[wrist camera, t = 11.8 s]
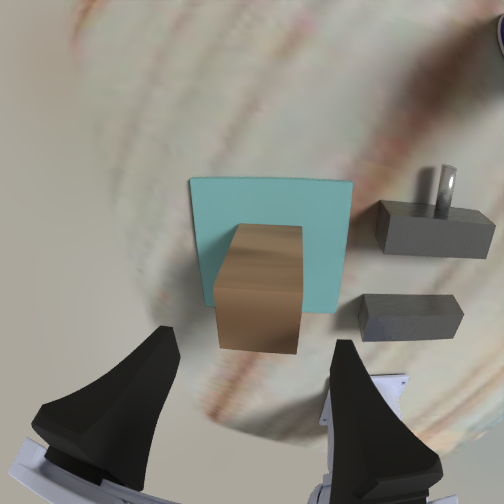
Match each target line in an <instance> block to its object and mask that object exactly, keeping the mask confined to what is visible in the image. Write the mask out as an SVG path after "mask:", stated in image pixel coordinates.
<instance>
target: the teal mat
mask: <svg viewBox="0 0 504 504" xmlns="http://www.w3.org/2000/svg"><path fill="white" fill-rule="evenodd" d="M190 185H191V195H192V205H193V214H194V223H195V232H196V241H197V249H198V257H199V264H200V272H201V279H202V287H203V294H204V301H205V306H215V302H214V293H213V286H214V283H215V281H216V278H217V276H218V273H219V271H220V269H221V266H222V264H223V261H224V259H225V256H226V254H227V252H228V249H229V247H230V244H231V242H232V240H233V237H234V235H235V233H236V230H237V228H238V225H239V223H246V224H269V225H290V226H302V235H303V303H302V312H312V313H336V307H337V302H338V296H339V290H340V284H341V277H342V271H343V264H344V257H345V250H346V242H347V235H348V226H349V218H350V208H351V198H352V187H353V182H352V181H342V180H326V179H305V178H276V177H192V178H191V179H190Z"/></svg>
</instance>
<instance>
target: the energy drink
mask: <svg viewBox="0 0 504 504" xmlns="http://www.w3.org/2000/svg"><path fill="white" fill-rule="evenodd" d="M497 33H498V41H499V45H500V48H501V51H502V53H503V55H504V14H503V15H502V16H501V18H500V19H499V22H498V28H497Z"/></svg>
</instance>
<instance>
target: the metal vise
mask: <svg viewBox="0 0 504 504" xmlns="http://www.w3.org/2000/svg"><path fill="white" fill-rule="evenodd" d="M456 171H457V168H455V167H453V166H450V165H445V164H442V169H441V175H440V182H439V188H438V194H437V200H436V205H427V204H418V203H407V202H396V201H385V200H380V206H379V213H378V220H377V227H376V233H375V237H376V239H377V241H378V243H379V245H380V247H381V249H382V251H383V253H384V254H391V255H412V256H433V257H453V258H474V259H486V257H487V254H488V251H489V248H490V244H491V241H492V238H493V234H494V231H495V227H496V225H495V224H494V223H493V222H491V221H490V220H489V219H488V218H487V217H486V216H484V215H483V214H482V213H481V212H480V211H477V210H470V209H462V208H454V207H450V205H451V200H452V195H453V189H454V184H455V178H456ZM463 316H464V313H463V311H462V310H461V308H460V306H459V304H458V303H457V301H456V299H455V297H454V296H453V295H389V294H364V295H363V300H362V304H361V308H360V313H359V317H358V322H359V327H360V333H361V338H362V342H376V341H416V340H437V339H452V338H453V337H454V335H455V333H456V331H457V329H458V327H459V325H460V323H461V320H462V318H463Z"/></svg>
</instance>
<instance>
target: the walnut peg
mask: <svg viewBox="0 0 504 504" xmlns="http://www.w3.org/2000/svg"><path fill="white" fill-rule="evenodd" d="M213 293H214V302H215V311H216V320H217V328H218V337H219V345H220V348H223V349H233V350H243V351H254V352H266V353H280V354H297V346H298V338H299V329H300V321H301V312H302V303H303V235H302V226H290V225H269V224H246V223H239V225H238V228H237V230H236V233H235V235H234V237H233V240H232V242H231V244H230V247H229V249H228V252H227V254H226V256H225V259H224V261H223V264H222V266H221V269H220V271H219V273H218V276H217V278H216V281H215V283H214V286H213Z"/></svg>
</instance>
